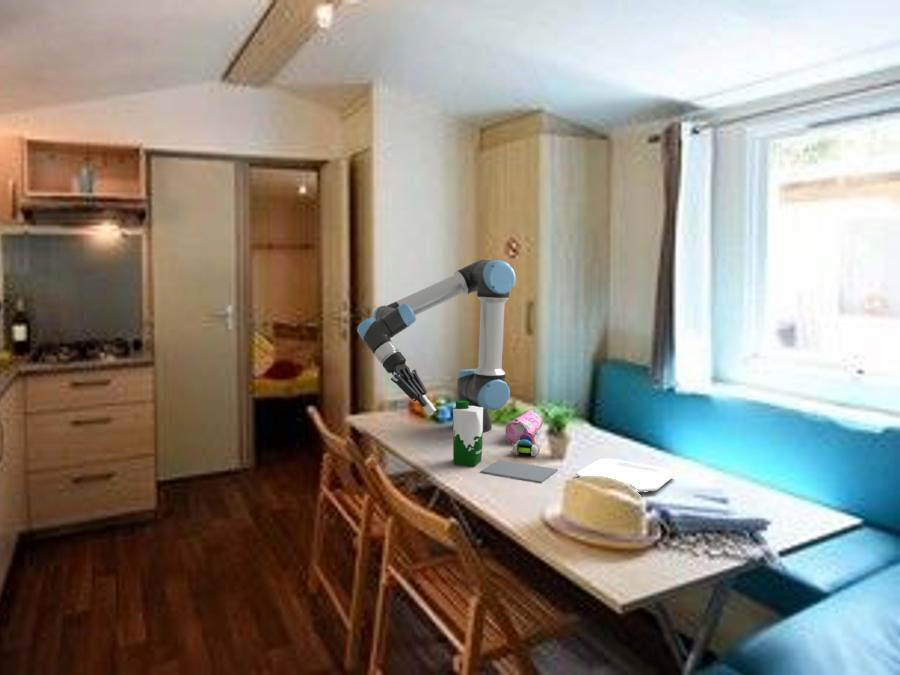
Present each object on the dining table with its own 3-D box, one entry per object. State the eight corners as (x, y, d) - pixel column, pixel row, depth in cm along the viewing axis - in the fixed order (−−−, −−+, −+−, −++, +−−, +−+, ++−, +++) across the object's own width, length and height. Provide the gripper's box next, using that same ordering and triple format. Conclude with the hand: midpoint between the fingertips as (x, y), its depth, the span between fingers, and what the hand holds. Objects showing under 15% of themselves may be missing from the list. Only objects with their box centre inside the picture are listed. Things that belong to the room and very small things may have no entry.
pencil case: (527, 446, 247) (527, 421, 246) (502, 443, 251) (503, 418, 250) (544, 433, 266) (544, 409, 265) (521, 430, 270) (521, 407, 269)
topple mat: (480, 472, 217) (480, 470, 216) (499, 461, 229) (499, 459, 229) (541, 483, 207) (541, 481, 207) (557, 470, 220) (557, 469, 219)
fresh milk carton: (458, 457, 232) (459, 398, 230) (485, 460, 229) (486, 400, 227) (449, 465, 224) (450, 403, 222) (476, 468, 221) (477, 405, 218)
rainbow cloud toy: (541, 451, 241) (542, 430, 240) (535, 459, 232) (536, 437, 231) (517, 449, 244) (518, 428, 243) (510, 456, 235) (511, 435, 234)
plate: (602, 463, 230) (602, 456, 229) (678, 477, 216) (679, 470, 215) (570, 482, 209) (570, 475, 209) (652, 499, 195) (652, 491, 195)
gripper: (394, 362, 243) (435, 416, 237) (372, 367, 232) (415, 423, 226) (407, 348, 240) (449, 402, 234) (386, 352, 229) (430, 409, 223)
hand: (432, 412), depth 230 cm, fingers closed
